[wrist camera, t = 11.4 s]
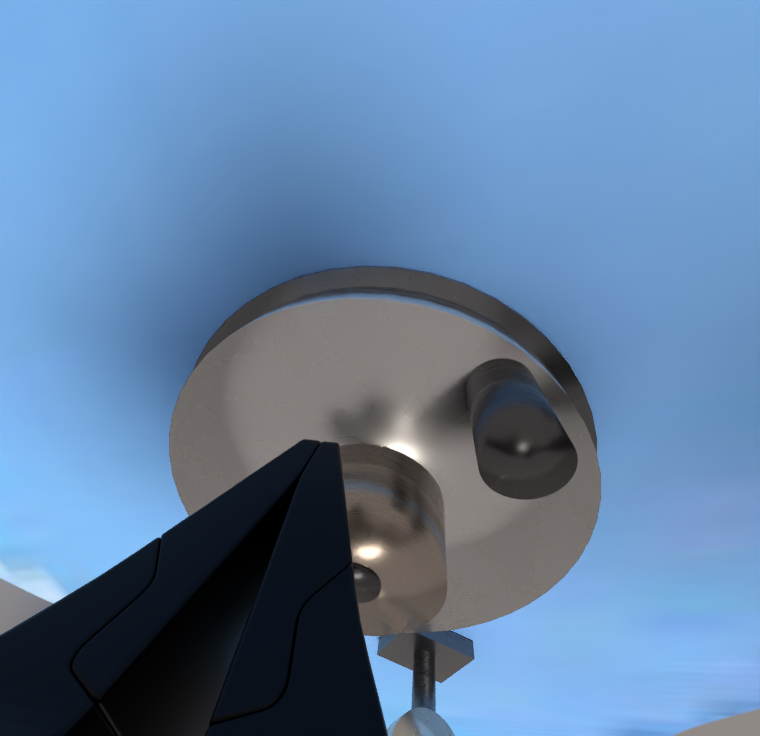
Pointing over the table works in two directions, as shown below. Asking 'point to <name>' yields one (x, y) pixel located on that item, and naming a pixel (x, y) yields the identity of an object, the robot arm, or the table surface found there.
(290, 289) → the turntable base
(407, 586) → the cover
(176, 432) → the turntable
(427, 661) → the stand
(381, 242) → the table surface
